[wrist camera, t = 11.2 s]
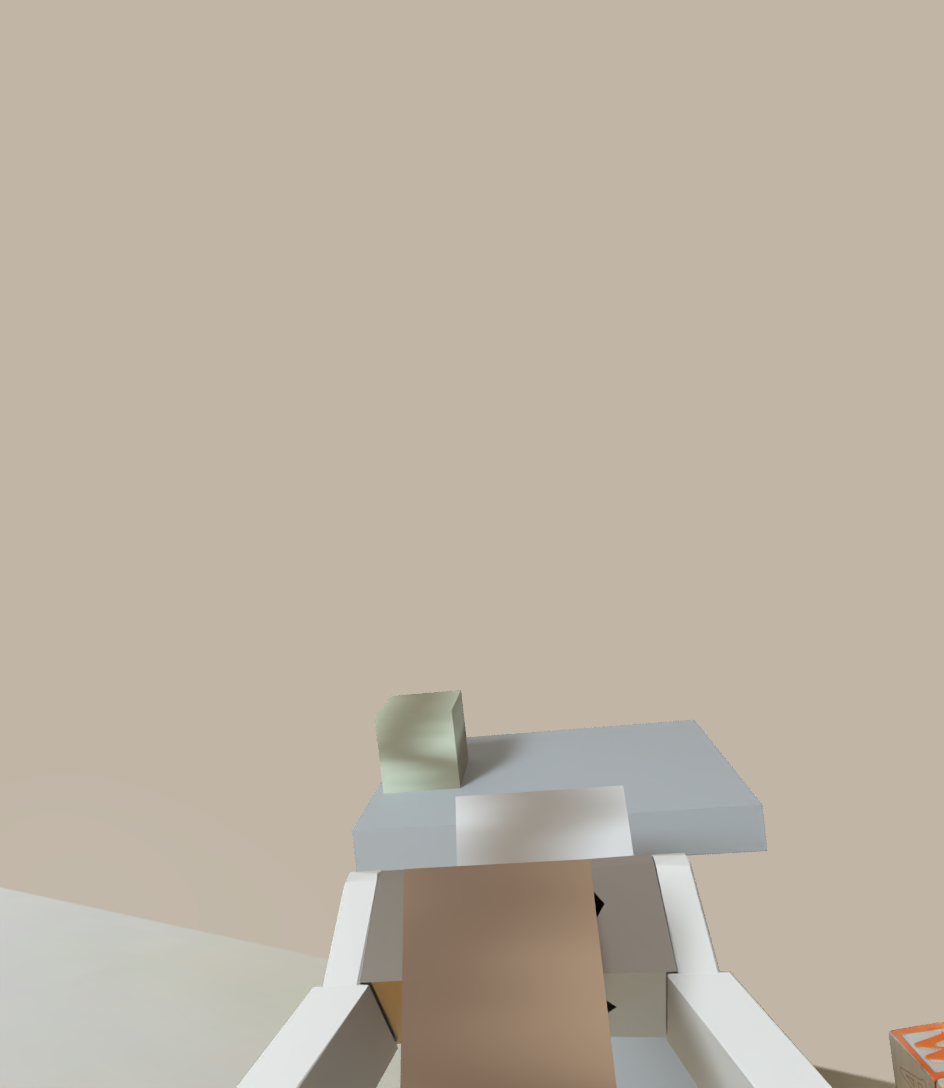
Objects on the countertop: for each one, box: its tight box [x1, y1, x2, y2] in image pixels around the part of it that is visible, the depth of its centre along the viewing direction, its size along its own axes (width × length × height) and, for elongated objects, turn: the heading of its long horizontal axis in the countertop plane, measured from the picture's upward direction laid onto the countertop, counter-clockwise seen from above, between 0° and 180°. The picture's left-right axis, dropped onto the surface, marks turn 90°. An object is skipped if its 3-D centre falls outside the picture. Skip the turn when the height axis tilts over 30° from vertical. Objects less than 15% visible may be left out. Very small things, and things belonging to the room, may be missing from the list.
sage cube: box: [375, 690, 469, 793], centre depth 35 cm, size 4×4×4 cm
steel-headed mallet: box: [401, 786, 634, 1088], centre depth 16 cm, size 5×20×5 cm
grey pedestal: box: [352, 720, 767, 1088], centre depth 35 cm, size 18×12×26 cm, turn 84°
